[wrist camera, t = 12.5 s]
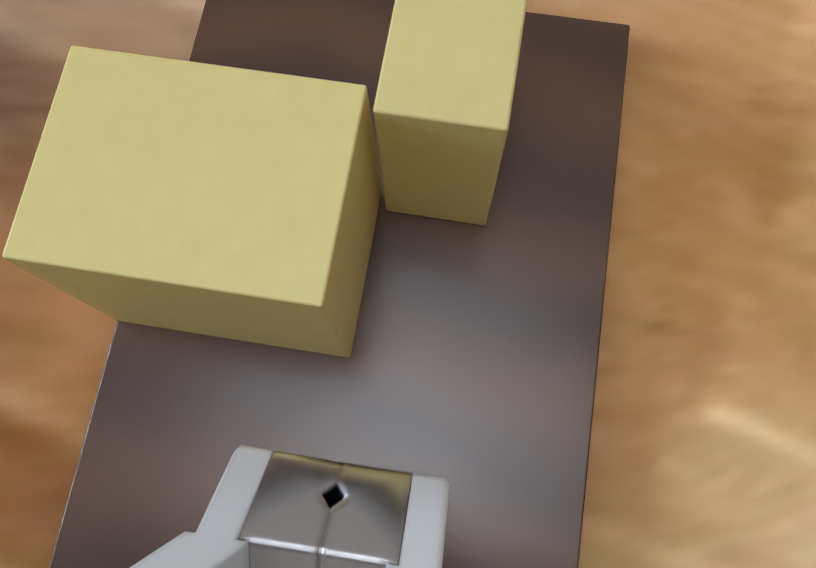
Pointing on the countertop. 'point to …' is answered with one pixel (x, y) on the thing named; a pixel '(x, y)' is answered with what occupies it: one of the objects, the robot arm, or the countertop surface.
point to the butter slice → (446, 104)
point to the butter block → (204, 199)
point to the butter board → (395, 324)
